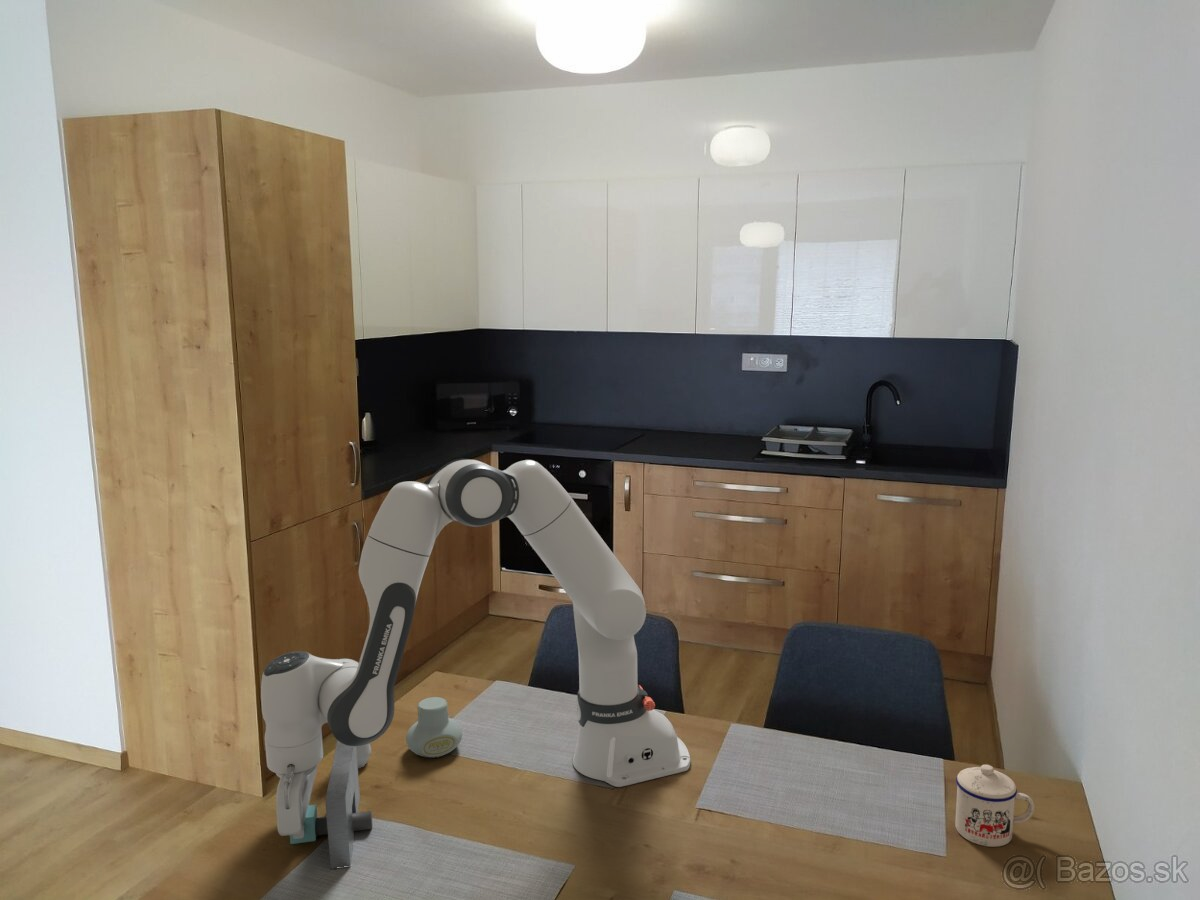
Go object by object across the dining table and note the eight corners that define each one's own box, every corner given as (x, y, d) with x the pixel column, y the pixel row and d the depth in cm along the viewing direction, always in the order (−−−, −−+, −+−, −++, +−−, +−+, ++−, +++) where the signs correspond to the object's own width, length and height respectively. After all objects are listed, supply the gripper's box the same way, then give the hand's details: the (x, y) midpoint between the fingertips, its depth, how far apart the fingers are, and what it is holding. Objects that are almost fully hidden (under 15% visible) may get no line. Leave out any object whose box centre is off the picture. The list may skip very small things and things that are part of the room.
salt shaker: (376, 756, 172) (371, 694, 170) (365, 772, 166) (361, 708, 164) (347, 755, 172) (342, 694, 170) (335, 771, 167) (331, 707, 165)
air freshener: (456, 734, 180) (454, 689, 178) (467, 753, 172) (464, 706, 171) (403, 746, 176) (400, 700, 174) (411, 766, 168) (408, 717, 166)
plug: (372, 821, 151) (371, 797, 150) (371, 833, 147) (369, 809, 146) (293, 831, 148) (291, 807, 147) (290, 844, 145) (288, 820, 144)
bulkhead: (359, 797, 158) (355, 735, 156) (350, 866, 139) (345, 797, 137) (342, 799, 157) (337, 737, 155) (330, 869, 138) (325, 800, 136)
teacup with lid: (960, 846, 141) (964, 779, 139) (948, 813, 150) (952, 750, 148) (1040, 853, 139) (1045, 786, 137) (1023, 819, 148) (1028, 756, 146)
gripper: (306, 782, 135) (313, 863, 137) (321, 720, 154) (327, 791, 157) (263, 787, 133) (270, 869, 136) (284, 724, 153) (290, 796, 156)
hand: (301, 827), depth 147 cm, fingers closed on plug, 4 cm apart
